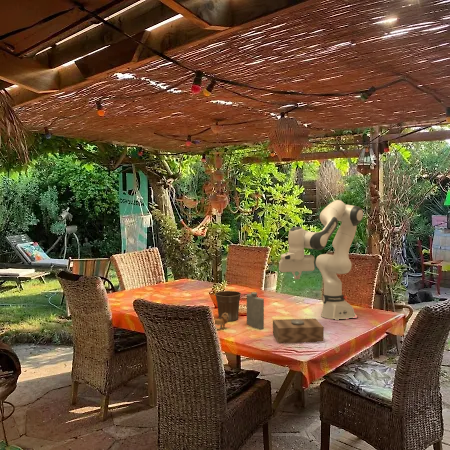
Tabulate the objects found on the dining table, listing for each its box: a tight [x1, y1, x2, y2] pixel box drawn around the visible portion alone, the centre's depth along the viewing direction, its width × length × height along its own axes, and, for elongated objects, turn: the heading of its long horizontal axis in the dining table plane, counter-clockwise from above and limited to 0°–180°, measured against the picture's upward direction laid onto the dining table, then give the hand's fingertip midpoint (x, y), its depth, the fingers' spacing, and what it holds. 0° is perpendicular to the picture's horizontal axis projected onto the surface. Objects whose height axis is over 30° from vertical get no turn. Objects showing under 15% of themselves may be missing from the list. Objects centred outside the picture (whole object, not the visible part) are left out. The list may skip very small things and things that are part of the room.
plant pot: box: [214, 290, 242, 322], centre depth 288 cm, size 16×16×16 cm
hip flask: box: [246, 291, 265, 331], centre depth 272 cm, size 16×4×20 cm, turn 29°
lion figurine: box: [213, 313, 229, 330], centre depth 266 cm, size 15×5×9 cm, turn 124°
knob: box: [291, 320, 304, 325], centre depth 250 cm, size 7×7×7 cm
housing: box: [272, 318, 325, 344], centre depth 251 cm, size 24×16×8 cm, turn 95°
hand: (296, 279), depth 267 cm, fingers closed
